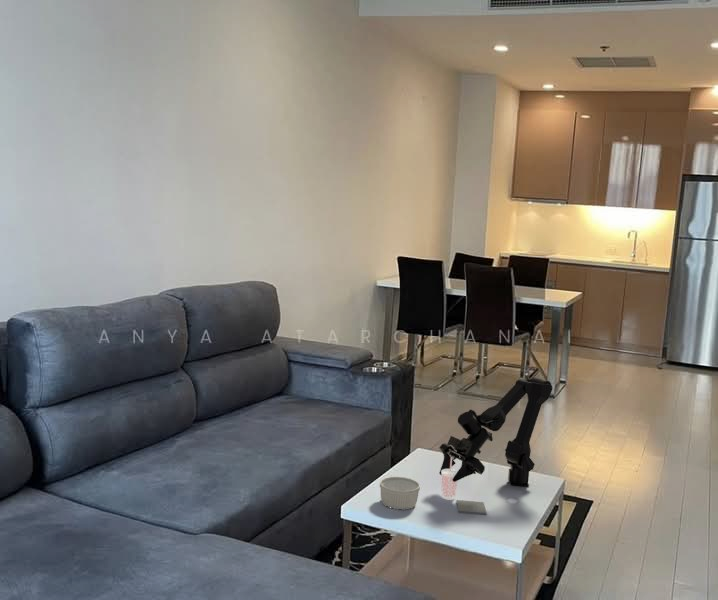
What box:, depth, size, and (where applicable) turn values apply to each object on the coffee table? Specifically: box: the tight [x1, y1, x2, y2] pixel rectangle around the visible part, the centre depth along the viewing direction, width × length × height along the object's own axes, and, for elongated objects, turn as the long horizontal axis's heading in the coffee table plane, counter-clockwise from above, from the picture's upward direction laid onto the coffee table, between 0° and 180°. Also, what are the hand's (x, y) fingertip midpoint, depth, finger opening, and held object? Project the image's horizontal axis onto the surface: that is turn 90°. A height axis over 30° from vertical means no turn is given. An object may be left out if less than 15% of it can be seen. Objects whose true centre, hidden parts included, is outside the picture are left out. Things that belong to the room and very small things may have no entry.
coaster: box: [455, 499, 488, 516], centre depth 242 cm, size 9×9×1 cm
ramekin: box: [379, 476, 421, 510], centre depth 241 cm, size 13×13×7 cm
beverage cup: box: [440, 457, 458, 501], centre depth 249 cm, size 6×6×14 cm
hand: (446, 477), depth 249 cm, fingers open, 7 cm apart
